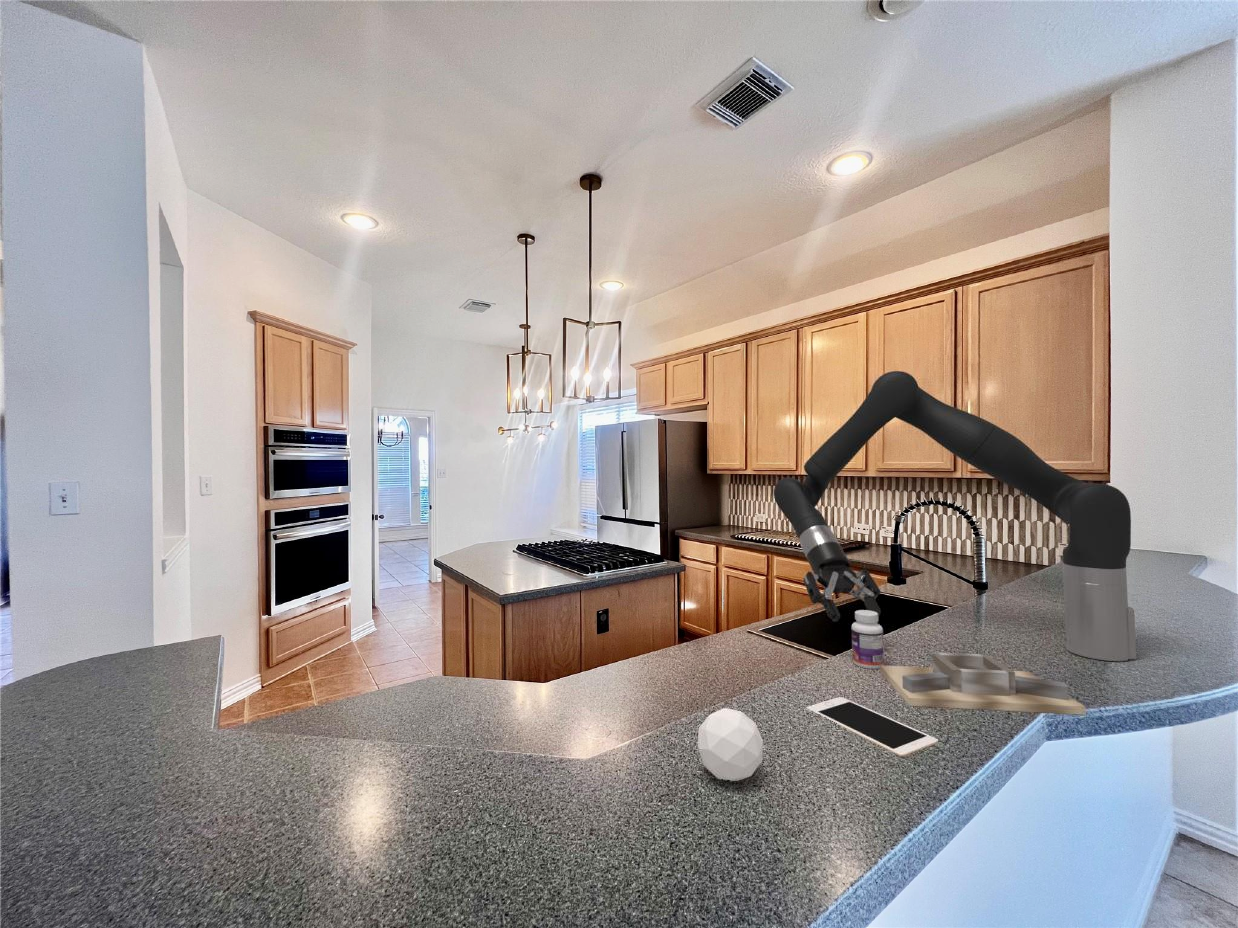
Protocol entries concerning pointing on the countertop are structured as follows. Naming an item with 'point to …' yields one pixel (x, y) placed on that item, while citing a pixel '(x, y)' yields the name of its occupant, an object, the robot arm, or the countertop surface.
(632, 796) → the countertop surface
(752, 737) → the ball
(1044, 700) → the base
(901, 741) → the cell phone
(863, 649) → the pill bottle
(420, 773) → the countertop surface
